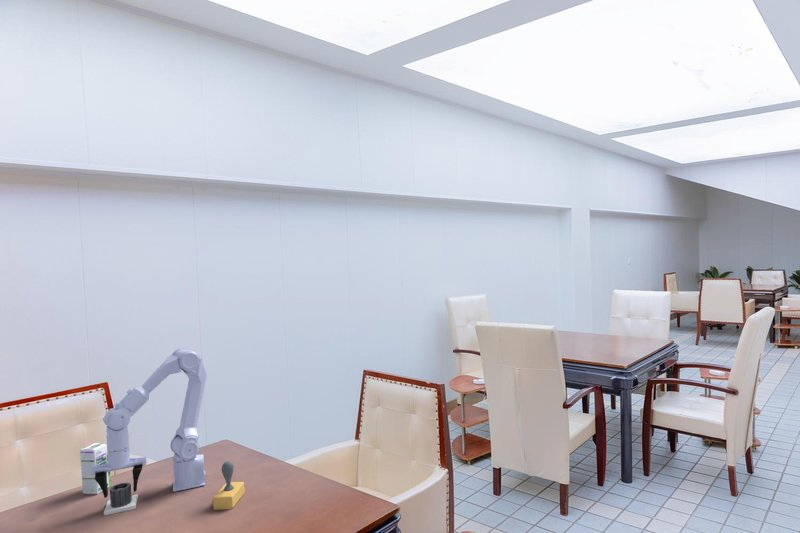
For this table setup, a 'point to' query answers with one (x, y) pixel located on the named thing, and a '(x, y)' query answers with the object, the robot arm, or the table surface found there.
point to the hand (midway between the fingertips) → (120, 493)
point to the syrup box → (91, 458)
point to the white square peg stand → (130, 506)
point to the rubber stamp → (228, 490)
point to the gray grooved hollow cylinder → (120, 495)
